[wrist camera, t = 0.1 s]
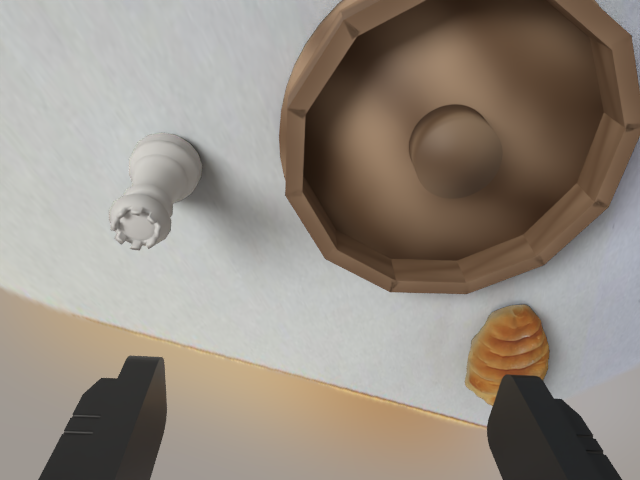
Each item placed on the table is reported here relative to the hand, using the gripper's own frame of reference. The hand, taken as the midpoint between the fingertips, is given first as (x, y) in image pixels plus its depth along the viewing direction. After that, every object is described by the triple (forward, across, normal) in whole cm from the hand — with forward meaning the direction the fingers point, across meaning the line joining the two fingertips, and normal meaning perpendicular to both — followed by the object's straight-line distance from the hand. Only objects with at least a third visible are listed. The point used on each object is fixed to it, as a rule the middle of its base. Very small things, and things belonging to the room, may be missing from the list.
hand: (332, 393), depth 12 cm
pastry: (+26, -18, +18) cm, 36 cm away
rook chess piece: (+23, +9, +2) cm, 25 cm away
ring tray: (+22, -8, -1) cm, 24 cm away
